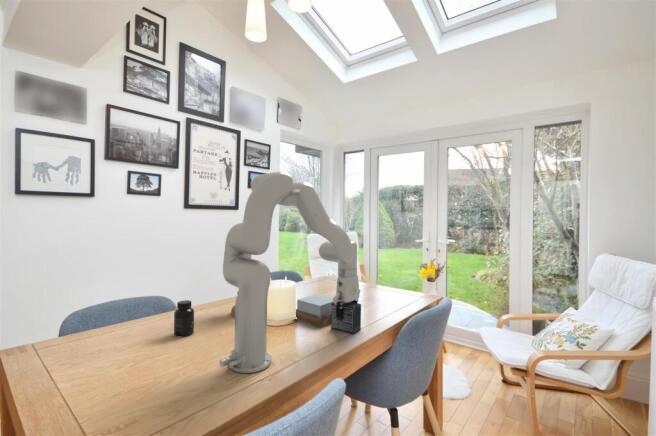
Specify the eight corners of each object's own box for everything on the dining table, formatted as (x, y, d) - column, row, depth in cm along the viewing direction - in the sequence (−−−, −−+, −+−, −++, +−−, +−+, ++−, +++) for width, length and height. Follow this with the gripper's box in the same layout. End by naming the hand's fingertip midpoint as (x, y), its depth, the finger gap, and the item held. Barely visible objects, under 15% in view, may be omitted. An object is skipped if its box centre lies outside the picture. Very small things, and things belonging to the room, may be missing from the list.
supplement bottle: (197, 333, 117) (197, 302, 116) (178, 339, 112) (178, 305, 111) (189, 328, 121) (189, 298, 121) (170, 333, 116) (171, 301, 116)
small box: (361, 329, 124) (362, 303, 124) (354, 334, 118) (354, 307, 118) (338, 324, 130) (339, 299, 129) (330, 328, 124) (330, 302, 124)
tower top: (320, 316, 126) (320, 305, 126) (297, 309, 134) (297, 299, 134) (339, 309, 136) (339, 299, 136) (316, 303, 144) (317, 293, 144)
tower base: (321, 328, 125) (321, 317, 125) (294, 320, 134) (294, 309, 134) (342, 319, 137) (343, 309, 137) (316, 311, 146) (317, 302, 146)
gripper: (342, 277, 115) (342, 323, 115) (366, 269, 128) (366, 311, 129) (326, 274, 119) (326, 318, 120) (351, 267, 133) (351, 307, 133)
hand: (347, 314), depth 124 cm, fingers open, 9 cm apart
